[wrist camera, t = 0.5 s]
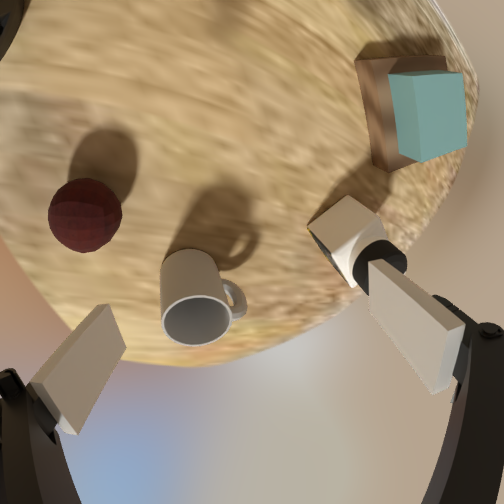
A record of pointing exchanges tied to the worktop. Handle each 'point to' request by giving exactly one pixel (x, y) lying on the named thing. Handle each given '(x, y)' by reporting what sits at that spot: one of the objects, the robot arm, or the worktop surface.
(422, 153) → the tower top block
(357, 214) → the medicine bottle
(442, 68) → the tower base slab
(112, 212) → the dark red textured ball
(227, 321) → the cup
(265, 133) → the worktop surface
